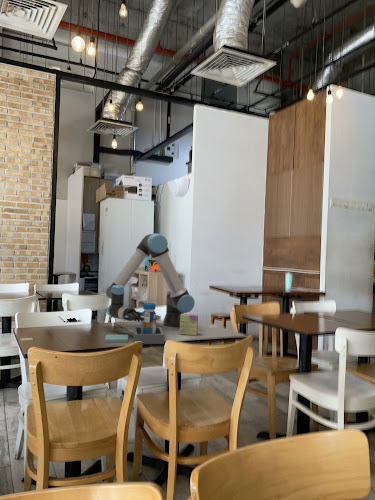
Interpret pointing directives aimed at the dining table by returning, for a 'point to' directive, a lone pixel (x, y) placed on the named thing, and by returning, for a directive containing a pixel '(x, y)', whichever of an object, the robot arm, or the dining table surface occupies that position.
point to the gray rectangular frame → (148, 336)
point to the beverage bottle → (149, 312)
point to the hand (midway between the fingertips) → (154, 319)
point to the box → (189, 324)
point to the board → (116, 338)
